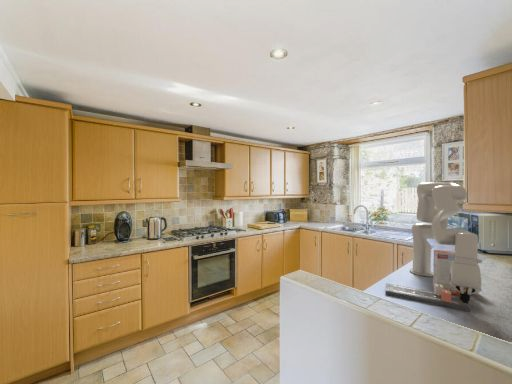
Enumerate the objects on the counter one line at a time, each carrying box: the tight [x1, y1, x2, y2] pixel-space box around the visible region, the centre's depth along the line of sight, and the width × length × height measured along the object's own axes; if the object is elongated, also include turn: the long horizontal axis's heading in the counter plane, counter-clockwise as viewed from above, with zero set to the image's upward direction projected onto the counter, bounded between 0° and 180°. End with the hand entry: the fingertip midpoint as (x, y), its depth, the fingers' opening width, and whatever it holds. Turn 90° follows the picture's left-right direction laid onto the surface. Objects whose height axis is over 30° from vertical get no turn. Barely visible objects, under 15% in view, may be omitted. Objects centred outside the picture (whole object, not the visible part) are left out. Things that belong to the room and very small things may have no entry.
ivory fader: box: [433, 283, 444, 295], centre depth 115 cm, size 4×3×4 cm
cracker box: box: [432, 249, 467, 296], centre depth 122 cm, size 14×6×21 cm, turn 71°
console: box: [385, 283, 471, 313], centre depth 115 cm, size 11×32×2 cm, turn 60°
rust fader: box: [441, 289, 452, 303], centre depth 108 cm, size 4×3×4 cm
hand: (464, 302), depth 105 cm, fingers closed
